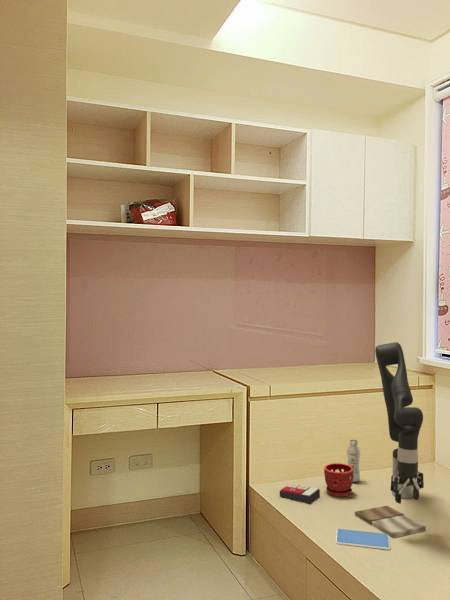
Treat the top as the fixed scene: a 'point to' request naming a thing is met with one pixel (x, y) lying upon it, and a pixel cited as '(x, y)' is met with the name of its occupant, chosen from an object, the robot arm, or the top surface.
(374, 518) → the laid board
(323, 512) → the top surface
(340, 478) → the plant pot
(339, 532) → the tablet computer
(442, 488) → the top surface
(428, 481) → the top surface
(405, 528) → the plank
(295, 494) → the multicoloured piece
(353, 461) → the plastic bottle
